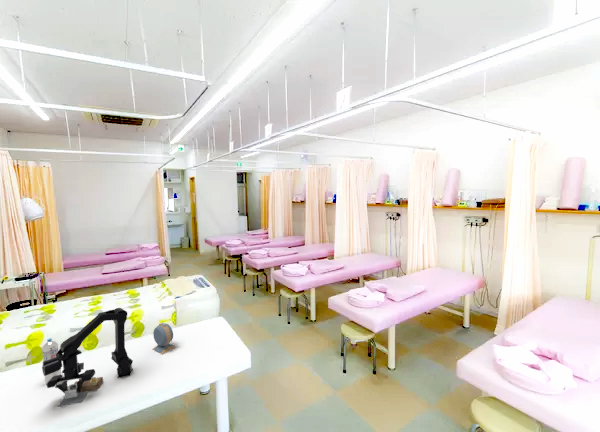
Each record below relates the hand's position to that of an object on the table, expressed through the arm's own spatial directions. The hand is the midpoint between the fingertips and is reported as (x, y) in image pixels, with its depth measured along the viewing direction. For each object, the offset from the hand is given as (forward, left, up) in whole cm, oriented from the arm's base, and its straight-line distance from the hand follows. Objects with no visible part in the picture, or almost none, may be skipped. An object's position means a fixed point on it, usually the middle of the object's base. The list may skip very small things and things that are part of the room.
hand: (73, 393), depth 142 cm
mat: (0, 0, -3) cm, 3 cm away
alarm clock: (-36, -36, -3) cm, 52 cm away
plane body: (-3, -7, -3) cm, 9 cm away
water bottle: (+19, -20, -3) cm, 28 cm away
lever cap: (0, 0, 0) cm, 0 cm away
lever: (-7, -5, 0) cm, 9 cm away
